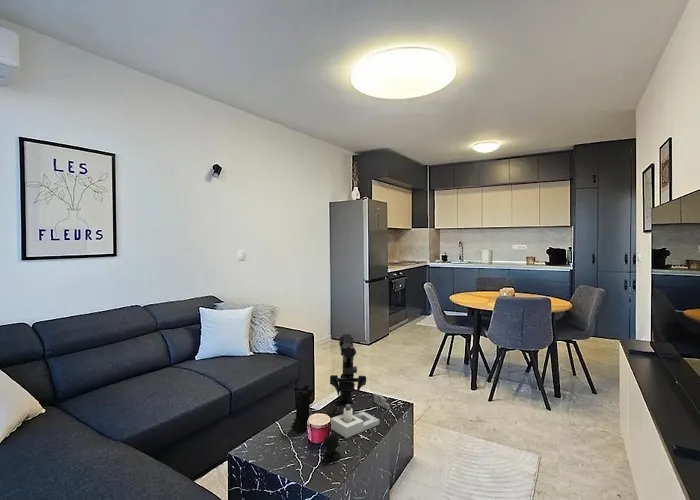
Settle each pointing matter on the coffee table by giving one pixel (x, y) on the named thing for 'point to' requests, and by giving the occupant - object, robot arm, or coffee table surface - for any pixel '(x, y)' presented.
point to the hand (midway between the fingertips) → (348, 396)
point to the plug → (348, 413)
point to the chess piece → (302, 408)
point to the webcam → (331, 447)
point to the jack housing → (353, 424)
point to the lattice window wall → (383, 401)
